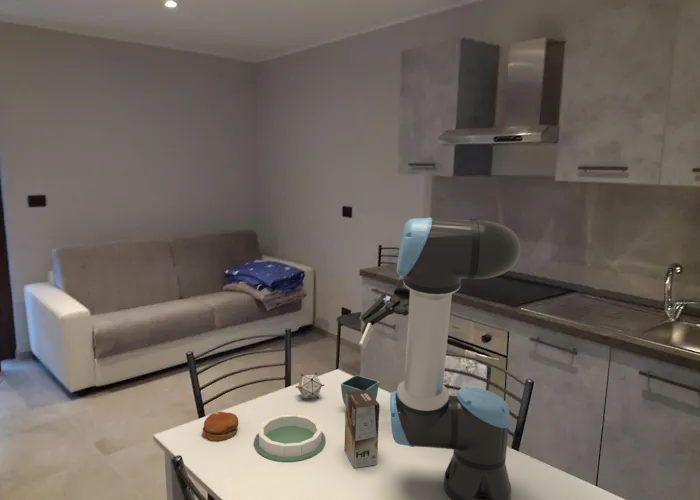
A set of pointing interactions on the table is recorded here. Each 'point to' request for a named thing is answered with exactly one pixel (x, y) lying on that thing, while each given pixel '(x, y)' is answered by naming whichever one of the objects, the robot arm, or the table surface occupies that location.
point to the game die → (309, 386)
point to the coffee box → (361, 428)
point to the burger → (220, 426)
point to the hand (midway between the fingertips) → (384, 351)
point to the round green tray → (289, 438)
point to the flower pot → (359, 386)
